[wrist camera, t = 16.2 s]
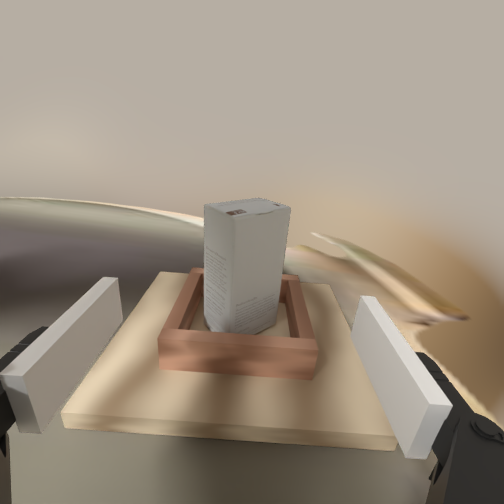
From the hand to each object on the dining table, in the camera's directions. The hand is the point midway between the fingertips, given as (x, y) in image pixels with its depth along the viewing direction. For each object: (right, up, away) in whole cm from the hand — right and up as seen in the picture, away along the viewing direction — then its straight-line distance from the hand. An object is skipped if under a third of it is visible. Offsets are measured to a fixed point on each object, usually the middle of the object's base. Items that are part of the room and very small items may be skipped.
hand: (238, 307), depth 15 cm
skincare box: (0, -4, +12) cm, 13 cm away
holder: (0, -6, +13) cm, 14 cm away
